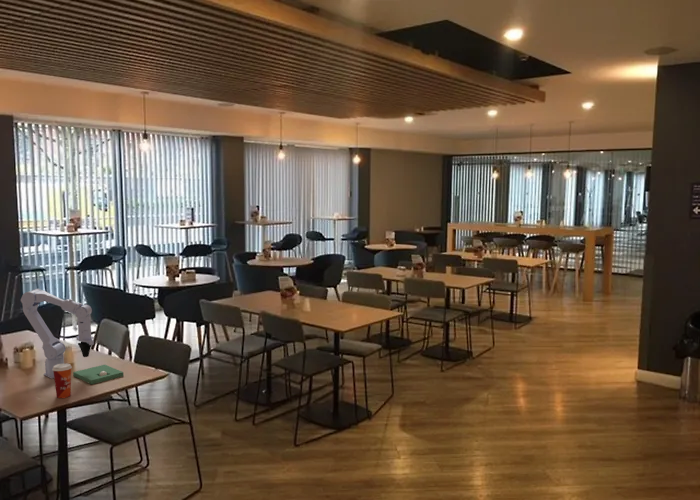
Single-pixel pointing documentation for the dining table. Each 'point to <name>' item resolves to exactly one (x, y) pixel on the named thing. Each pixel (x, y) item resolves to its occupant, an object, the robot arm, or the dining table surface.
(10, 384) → the dining table surface
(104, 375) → the ball
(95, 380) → the putting deck
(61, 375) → the paper cup
